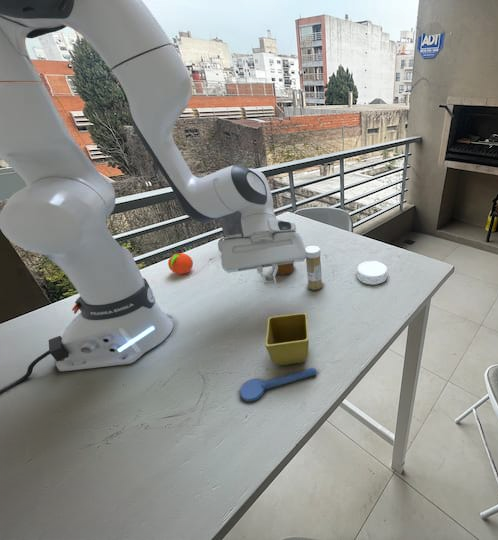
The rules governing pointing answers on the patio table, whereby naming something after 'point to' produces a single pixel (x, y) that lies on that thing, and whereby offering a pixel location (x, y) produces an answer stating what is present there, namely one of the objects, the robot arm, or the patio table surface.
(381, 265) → the white round disc
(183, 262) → the clementine
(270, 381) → the spoon
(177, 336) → the patio table surface
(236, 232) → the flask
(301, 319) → the flower pot
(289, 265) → the disposable coffee cup
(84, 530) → the patio table surface
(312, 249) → the sprinkles bottle
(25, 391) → the patio table surface
